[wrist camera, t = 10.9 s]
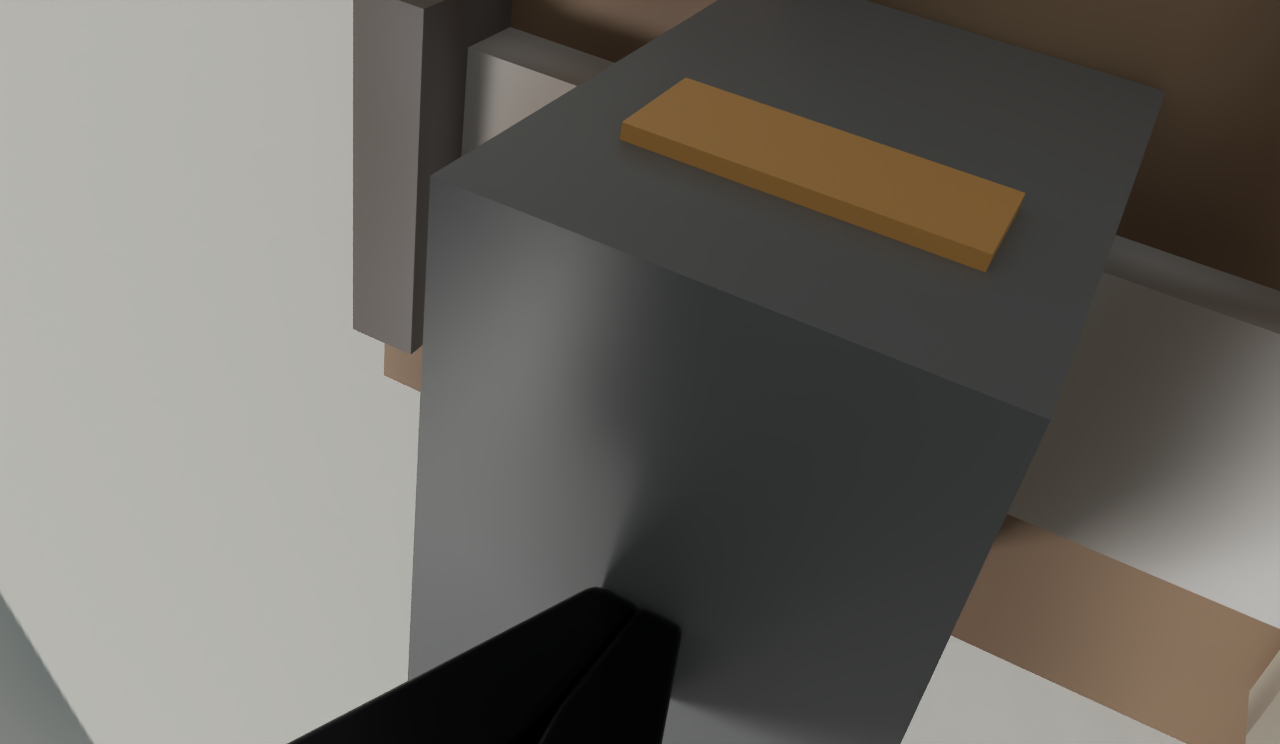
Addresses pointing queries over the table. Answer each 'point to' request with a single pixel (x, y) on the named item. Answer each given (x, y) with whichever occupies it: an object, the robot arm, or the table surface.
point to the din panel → (1098, 373)
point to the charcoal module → (762, 349)
